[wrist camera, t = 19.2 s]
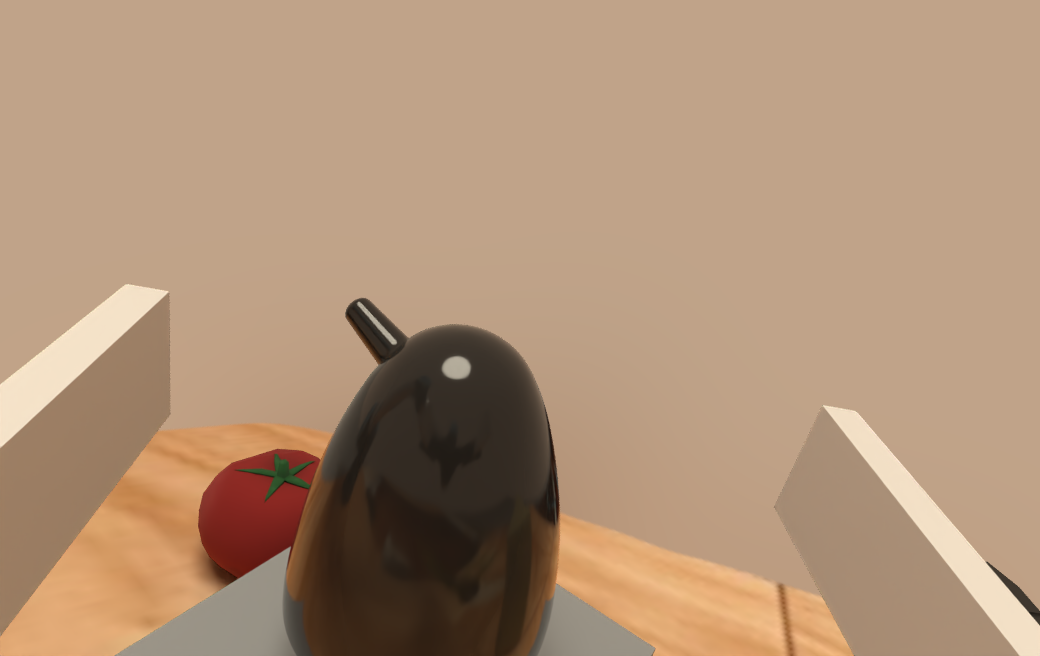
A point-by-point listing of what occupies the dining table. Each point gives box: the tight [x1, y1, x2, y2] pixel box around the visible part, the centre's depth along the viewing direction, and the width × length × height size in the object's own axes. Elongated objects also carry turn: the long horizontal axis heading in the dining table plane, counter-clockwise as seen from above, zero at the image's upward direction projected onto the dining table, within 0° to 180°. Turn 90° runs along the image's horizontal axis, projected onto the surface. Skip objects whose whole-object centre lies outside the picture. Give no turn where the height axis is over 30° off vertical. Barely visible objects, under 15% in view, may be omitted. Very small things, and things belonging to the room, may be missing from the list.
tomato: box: [198, 449, 320, 579], centre depth 40 cm, size 8×8×7 cm
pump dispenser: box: [282, 298, 560, 656], centre depth 25 cm, size 10×10×15 cm
